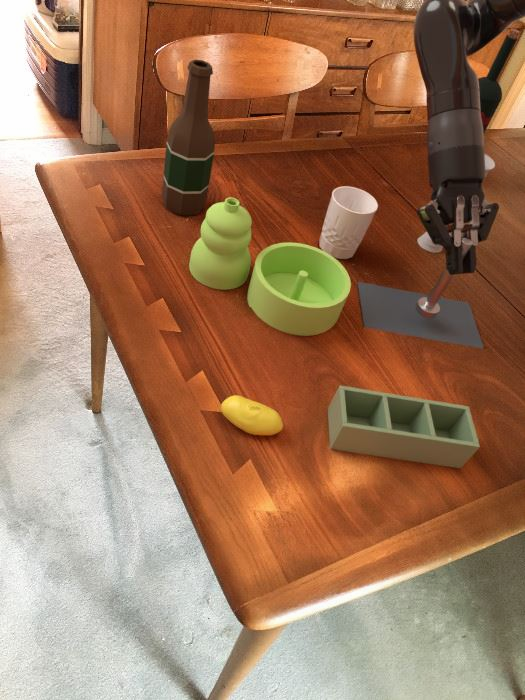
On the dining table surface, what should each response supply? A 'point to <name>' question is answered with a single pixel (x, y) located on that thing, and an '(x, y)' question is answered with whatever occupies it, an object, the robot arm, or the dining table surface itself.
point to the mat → (417, 316)
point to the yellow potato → (251, 416)
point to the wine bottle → (494, 81)
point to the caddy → (401, 427)
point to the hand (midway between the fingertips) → (461, 273)
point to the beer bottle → (190, 147)
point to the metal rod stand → (439, 288)
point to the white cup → (346, 221)
